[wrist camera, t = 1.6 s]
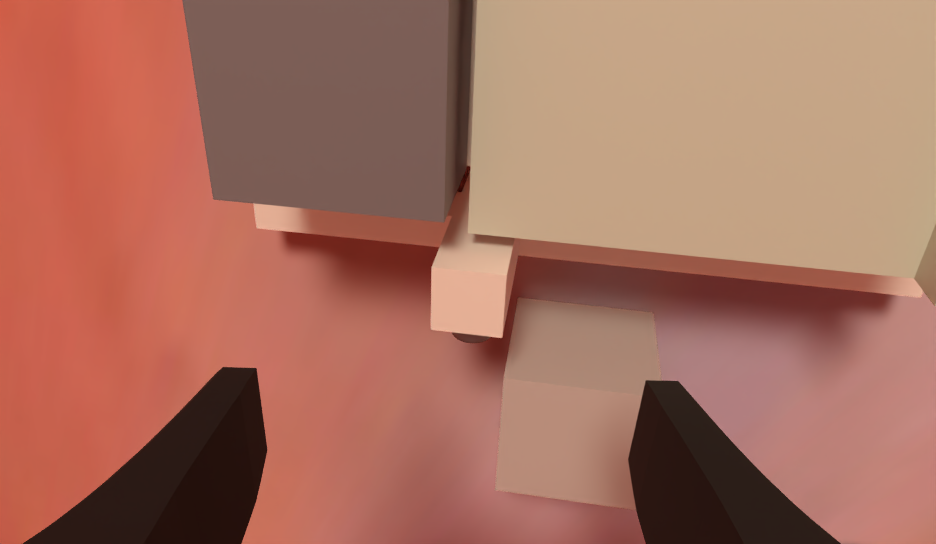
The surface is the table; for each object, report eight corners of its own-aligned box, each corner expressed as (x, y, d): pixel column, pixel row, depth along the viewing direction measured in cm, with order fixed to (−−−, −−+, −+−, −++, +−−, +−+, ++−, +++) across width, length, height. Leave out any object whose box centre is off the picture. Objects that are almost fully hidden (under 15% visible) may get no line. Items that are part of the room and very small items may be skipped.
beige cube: (632, 414, 29) (638, 510, 25) (509, 398, 30) (495, 490, 26) (653, 311, 27) (663, 398, 22) (518, 296, 27) (503, 378, 23)
